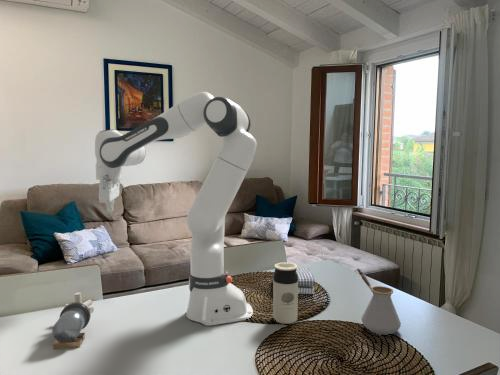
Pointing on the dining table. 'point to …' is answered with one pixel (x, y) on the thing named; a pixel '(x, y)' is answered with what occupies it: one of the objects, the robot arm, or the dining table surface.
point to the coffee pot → (380, 310)
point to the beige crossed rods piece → (78, 299)
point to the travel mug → (285, 293)
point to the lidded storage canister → (71, 326)
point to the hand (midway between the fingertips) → (110, 211)
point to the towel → (305, 281)
